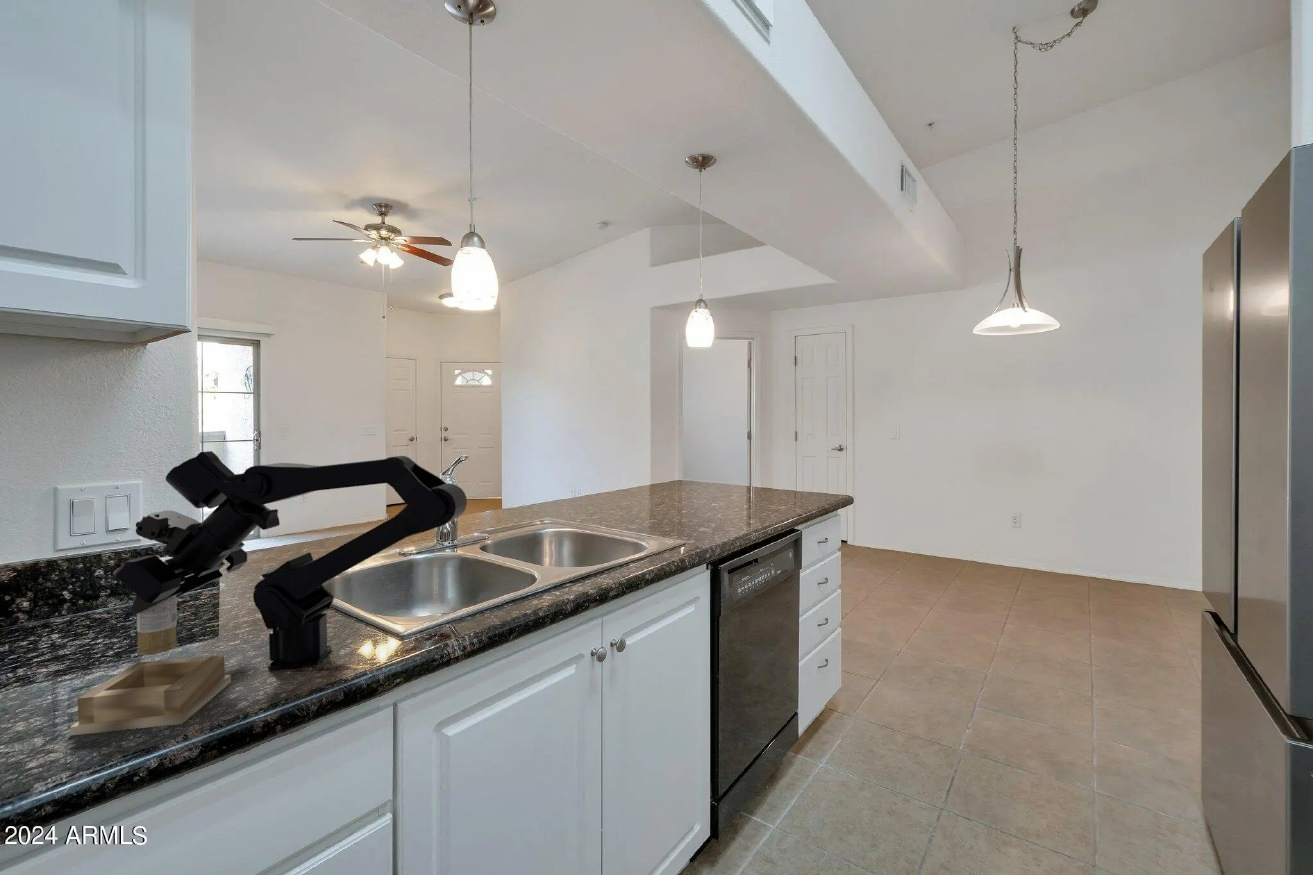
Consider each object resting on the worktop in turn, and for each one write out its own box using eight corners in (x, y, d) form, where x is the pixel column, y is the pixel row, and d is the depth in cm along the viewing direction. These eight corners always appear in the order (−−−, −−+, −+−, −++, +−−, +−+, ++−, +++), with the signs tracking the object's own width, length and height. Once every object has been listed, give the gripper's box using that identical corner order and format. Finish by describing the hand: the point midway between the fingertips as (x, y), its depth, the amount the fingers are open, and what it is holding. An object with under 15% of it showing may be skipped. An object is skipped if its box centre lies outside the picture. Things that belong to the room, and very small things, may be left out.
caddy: (230, 681, 77) (230, 653, 77) (182, 723, 66) (181, 690, 66) (136, 690, 74) (135, 661, 74) (70, 735, 64) (69, 701, 64)
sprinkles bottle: (149, 646, 84) (148, 557, 84) (184, 643, 85) (183, 555, 85) (128, 658, 80) (127, 563, 80) (165, 654, 81) (164, 561, 81)
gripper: (225, 485, 92) (156, 554, 91) (127, 501, 73) (39, 587, 72) (277, 532, 92) (209, 600, 92) (193, 559, 74) (107, 645, 73)
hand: (147, 606), depth 82 cm, fingers closed on sprinkles bottle, 4 cm apart
